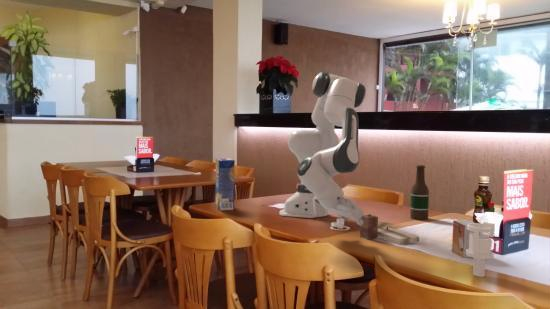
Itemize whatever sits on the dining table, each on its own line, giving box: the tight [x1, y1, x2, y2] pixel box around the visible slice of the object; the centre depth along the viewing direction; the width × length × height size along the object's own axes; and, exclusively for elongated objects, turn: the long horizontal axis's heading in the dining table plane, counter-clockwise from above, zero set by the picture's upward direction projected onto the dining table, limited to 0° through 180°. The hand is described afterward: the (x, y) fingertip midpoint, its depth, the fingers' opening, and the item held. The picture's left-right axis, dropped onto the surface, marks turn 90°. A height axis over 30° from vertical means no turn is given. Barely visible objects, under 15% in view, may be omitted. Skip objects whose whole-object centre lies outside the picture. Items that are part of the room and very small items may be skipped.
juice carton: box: [214, 158, 236, 211], centre depth 234 cm, size 12×8×24 cm, turn 16°
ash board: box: [377, 227, 420, 246], centre depth 175 cm, size 9×18×2 cm, turn 25°
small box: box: [451, 219, 481, 259], centre depth 153 cm, size 8×6×10 cm
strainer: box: [466, 221, 495, 278], centre depth 132 cm, size 7×7×15 cm
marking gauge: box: [359, 213, 391, 240], centre depth 177 cm, size 12×4×9 cm, turn 115°
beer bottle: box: [409, 164, 430, 221], centre depth 213 cm, size 8×8×24 cm
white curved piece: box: [329, 217, 351, 231], centre depth 192 cm, size 9×8×4 cm
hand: (353, 221), depth 172 cm, fingers open, 8 cm apart
